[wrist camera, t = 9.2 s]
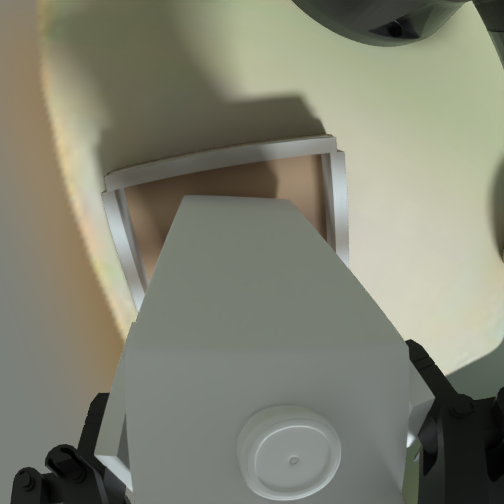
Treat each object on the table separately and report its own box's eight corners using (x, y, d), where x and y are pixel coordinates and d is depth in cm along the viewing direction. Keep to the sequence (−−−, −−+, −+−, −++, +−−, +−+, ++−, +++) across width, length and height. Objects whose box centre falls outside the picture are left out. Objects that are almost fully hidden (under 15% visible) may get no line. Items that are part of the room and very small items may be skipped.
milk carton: (278, 290, 24) (366, 548, 6) (184, 288, 23) (159, 568, 6) (290, 198, 21) (487, 455, 4) (183, 193, 20) (84, 511, 3)
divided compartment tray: (112, 170, 21) (97, 178, 18) (326, 133, 22) (343, 136, 19) (192, 408, 32) (191, 430, 29) (333, 383, 32) (341, 404, 29)
